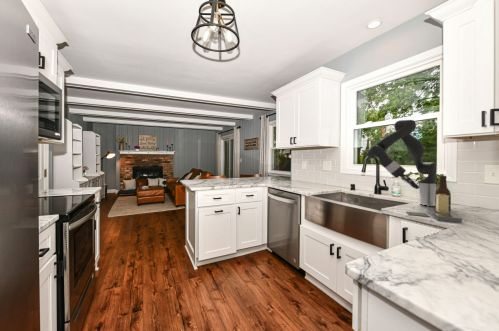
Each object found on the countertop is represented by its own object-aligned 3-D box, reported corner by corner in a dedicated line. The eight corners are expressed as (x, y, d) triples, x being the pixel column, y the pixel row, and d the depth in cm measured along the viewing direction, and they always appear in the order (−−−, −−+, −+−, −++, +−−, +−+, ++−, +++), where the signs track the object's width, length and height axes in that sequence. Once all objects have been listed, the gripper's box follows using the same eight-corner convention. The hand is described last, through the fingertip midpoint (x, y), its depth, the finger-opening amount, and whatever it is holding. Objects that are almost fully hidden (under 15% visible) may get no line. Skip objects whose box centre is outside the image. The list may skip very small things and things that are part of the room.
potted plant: (444, 210, 147) (444, 175, 147) (453, 212, 140) (454, 176, 140) (432, 210, 148) (432, 175, 148) (441, 212, 140) (441, 176, 140)
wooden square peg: (436, 215, 132) (436, 193, 132) (445, 216, 130) (446, 194, 130) (438, 217, 128) (438, 194, 128) (448, 218, 126) (448, 195, 126)
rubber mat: (406, 212, 141) (406, 211, 141) (425, 213, 137) (425, 213, 137) (408, 215, 133) (408, 214, 133) (429, 217, 128) (429, 216, 128)
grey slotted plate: (426, 211, 143) (426, 208, 143) (446, 213, 138) (446, 209, 138) (437, 220, 120) (437, 216, 120) (461, 223, 115) (461, 218, 115)
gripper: (401, 165, 133) (424, 184, 127) (398, 165, 145) (419, 182, 140) (391, 173, 135) (413, 192, 130) (389, 172, 148) (409, 190, 142)
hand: (416, 187), depth 135 cm, fingers open, 8 cm apart
